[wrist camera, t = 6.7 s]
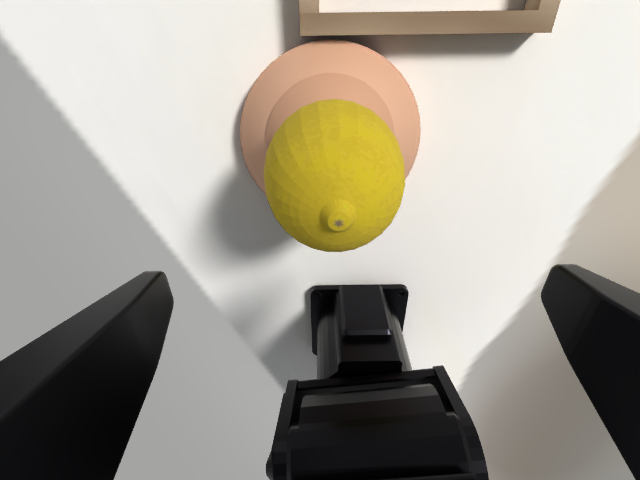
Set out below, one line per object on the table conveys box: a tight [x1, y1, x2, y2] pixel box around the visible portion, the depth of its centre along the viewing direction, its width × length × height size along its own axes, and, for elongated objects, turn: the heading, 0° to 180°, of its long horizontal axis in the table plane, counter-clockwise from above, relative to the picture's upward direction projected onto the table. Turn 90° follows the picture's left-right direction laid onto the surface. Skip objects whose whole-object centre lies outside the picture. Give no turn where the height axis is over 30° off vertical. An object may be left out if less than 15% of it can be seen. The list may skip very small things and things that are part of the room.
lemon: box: [264, 99, 405, 252], centre depth 14 cm, size 6×6×8 cm
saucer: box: [240, 39, 420, 195], centre depth 18 cm, size 9×9×1 cm
